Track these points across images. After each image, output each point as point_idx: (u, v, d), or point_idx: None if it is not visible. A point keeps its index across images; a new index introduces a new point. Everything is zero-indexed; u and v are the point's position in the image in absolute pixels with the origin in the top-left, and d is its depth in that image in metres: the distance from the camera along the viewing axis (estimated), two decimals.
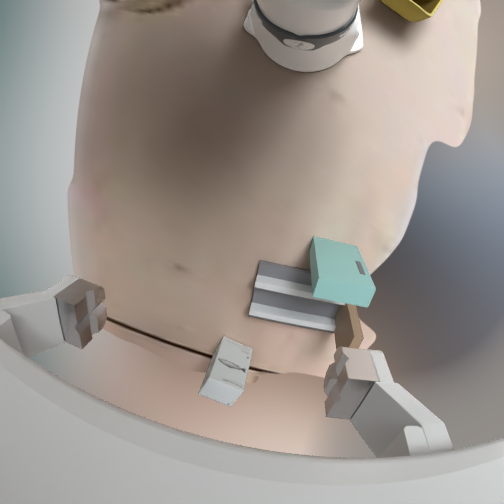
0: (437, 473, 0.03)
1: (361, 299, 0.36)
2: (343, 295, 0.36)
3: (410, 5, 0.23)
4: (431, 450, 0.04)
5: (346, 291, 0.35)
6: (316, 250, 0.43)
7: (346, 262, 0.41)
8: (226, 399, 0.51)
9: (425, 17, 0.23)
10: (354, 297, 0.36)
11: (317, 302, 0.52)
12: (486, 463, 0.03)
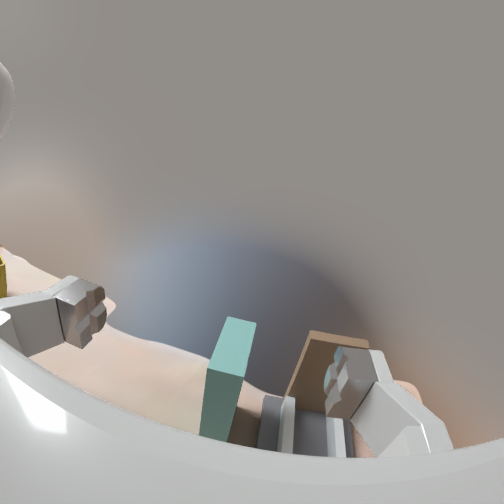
0: (437, 473, 0.03)
1: (244, 328, 0.27)
2: (238, 344, 0.25)
3: None
4: (431, 450, 0.04)
5: (232, 341, 0.25)
6: (201, 421, 0.24)
7: None
8: None
9: (4, 271, 0.34)
10: (242, 334, 0.26)
11: (304, 436, 0.29)
12: (486, 463, 0.03)
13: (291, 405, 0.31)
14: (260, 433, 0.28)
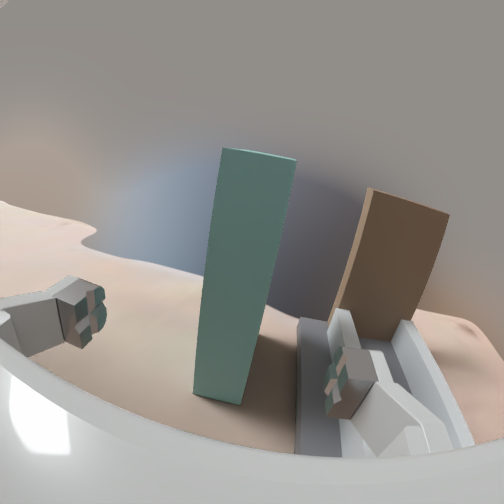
0: (437, 473, 0.03)
1: None
2: (274, 155, 0.14)
3: None
4: (431, 450, 0.04)
5: None
6: None
7: None
8: None
9: None
10: (276, 155, 0.16)
11: None
12: (486, 463, 0.03)
13: (347, 319, 0.20)
14: (303, 367, 0.18)
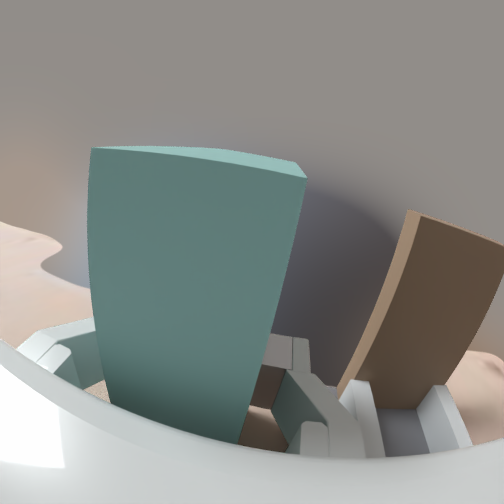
0: (437, 473, 0.03)
1: (266, 157, 0.09)
2: (255, 157, 0.07)
3: None
4: (332, 453, 0.04)
5: (232, 153, 0.07)
6: None
7: None
8: None
9: None
10: (262, 157, 0.09)
11: None
12: (486, 463, 0.03)
13: (366, 399, 0.13)
14: None
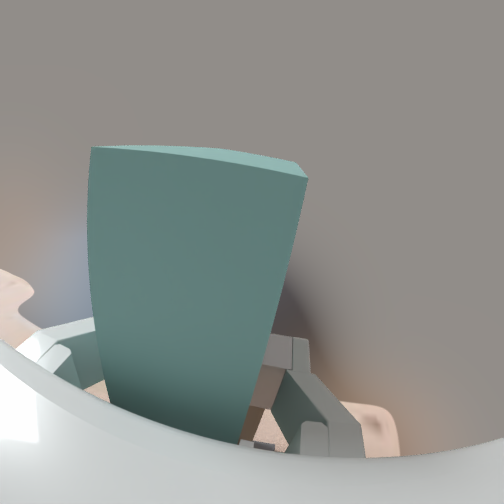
0: (437, 473, 0.03)
1: (267, 157, 0.09)
2: (255, 157, 0.07)
3: None
4: (332, 453, 0.04)
5: (232, 152, 0.07)
6: None
7: None
8: None
9: None
10: (263, 157, 0.08)
11: None
12: (486, 463, 0.03)
13: None
14: None
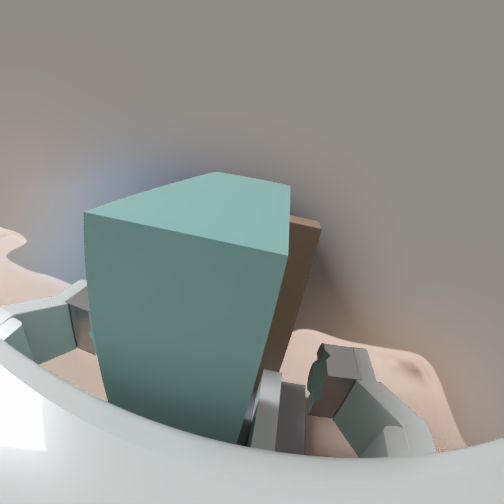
0: (437, 473, 0.03)
1: (260, 183, 0.10)
2: (247, 193, 0.07)
3: None
4: (412, 452, 0.04)
5: (224, 188, 0.07)
6: None
7: None
8: None
9: None
10: (256, 186, 0.09)
11: None
12: (486, 463, 0.03)
13: None
14: None
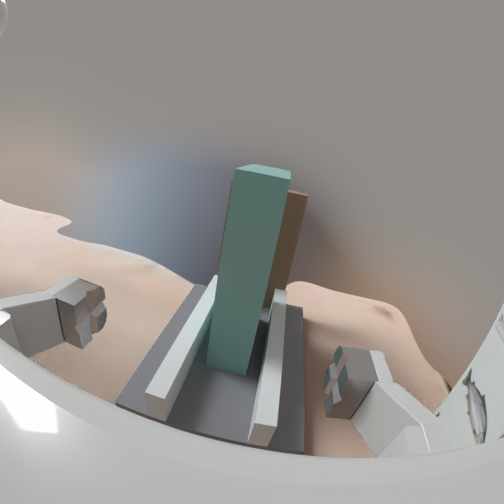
0: (437, 473, 0.03)
1: (277, 169, 0.21)
2: (274, 171, 0.18)
3: None
4: (431, 450, 0.04)
5: (264, 169, 0.19)
6: None
7: None
8: None
9: None
10: (275, 170, 0.20)
11: None
12: (486, 463, 0.03)
13: None
14: (176, 314, 0.25)
